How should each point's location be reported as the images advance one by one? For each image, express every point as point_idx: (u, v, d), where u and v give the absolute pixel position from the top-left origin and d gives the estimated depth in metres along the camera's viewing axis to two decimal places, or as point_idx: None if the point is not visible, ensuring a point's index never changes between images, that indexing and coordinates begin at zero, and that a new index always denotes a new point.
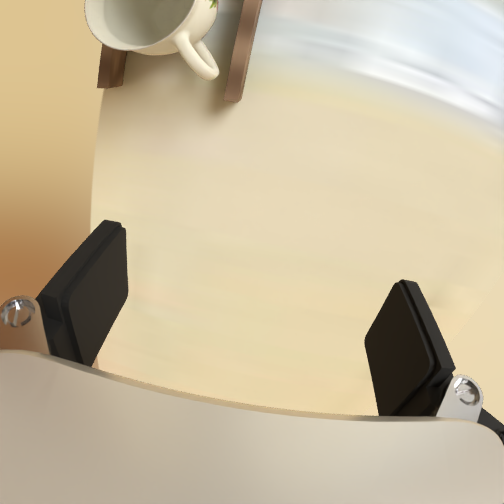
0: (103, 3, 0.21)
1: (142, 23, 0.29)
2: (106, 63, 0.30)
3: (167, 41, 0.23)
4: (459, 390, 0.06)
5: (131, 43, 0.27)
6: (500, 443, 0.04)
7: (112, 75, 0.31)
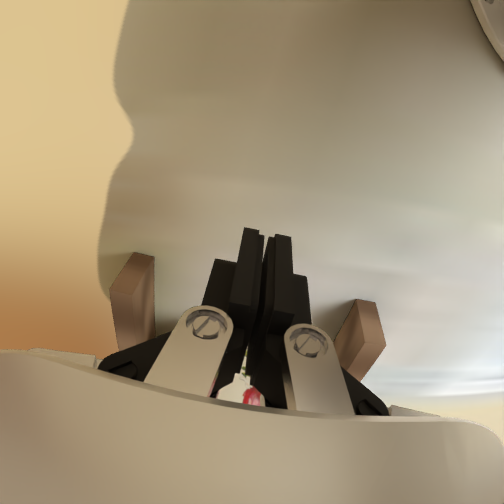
0: None
1: None
2: None
3: None
4: (299, 345, 0.07)
5: None
6: (500, 443, 0.04)
7: None
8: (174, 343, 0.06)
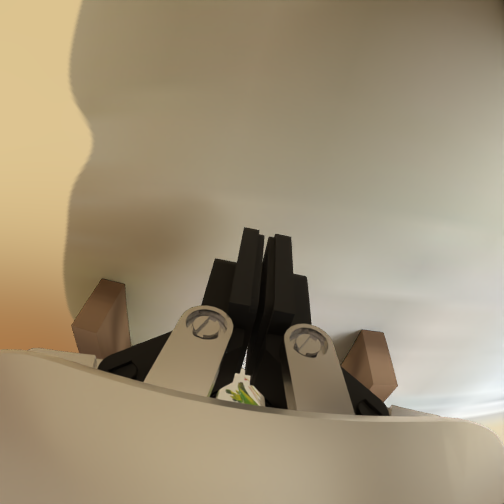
0: None
1: None
2: None
3: None
4: (299, 345, 0.07)
5: None
6: (500, 443, 0.04)
7: None
8: (174, 343, 0.06)
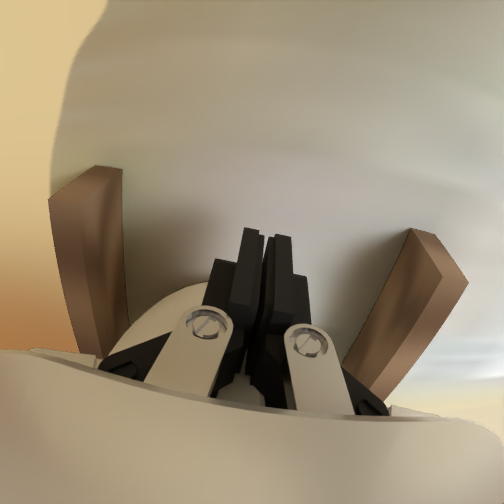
0: None
1: None
2: None
3: None
4: (299, 345, 0.07)
5: None
6: (500, 443, 0.04)
7: None
8: (174, 343, 0.06)
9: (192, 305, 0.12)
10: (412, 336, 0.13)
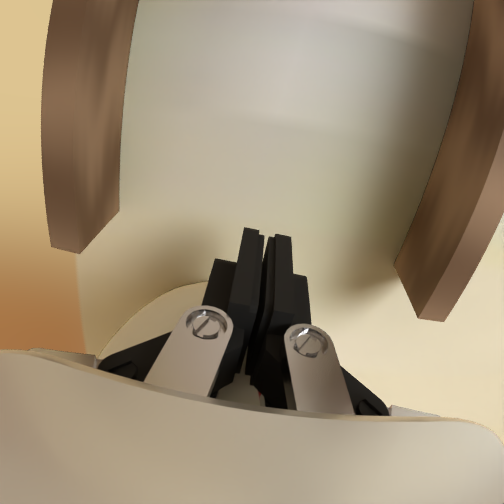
0: None
1: None
2: (61, 180, 0.10)
3: None
4: (299, 345, 0.07)
5: None
6: (500, 443, 0.04)
7: (88, 208, 0.12)
8: (174, 343, 0.06)
9: (191, 305, 0.12)
10: None
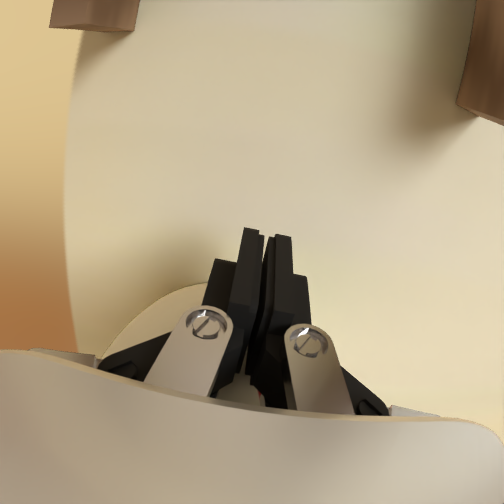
0: None
1: None
2: None
3: None
4: (299, 345, 0.07)
5: None
6: (500, 443, 0.04)
7: None
8: (174, 343, 0.06)
9: (191, 307, 0.12)
10: None
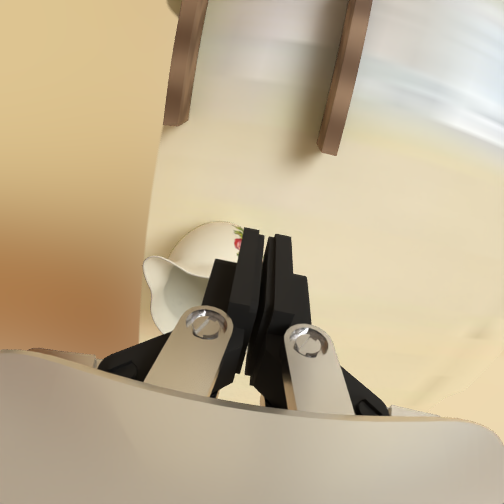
0: (163, 293, 0.31)
1: None
2: (175, 95, 0.28)
3: None
4: (299, 345, 0.07)
5: (185, 294, 0.38)
6: (500, 443, 0.04)
7: (182, 110, 0.29)
8: (174, 343, 0.06)
9: (211, 224, 0.34)
10: (357, 11, 0.22)
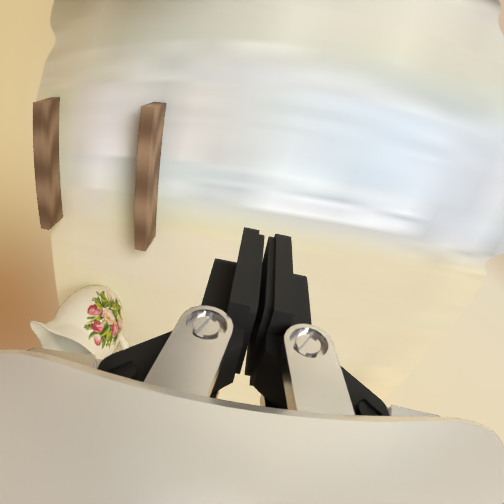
0: (52, 337, 0.41)
1: None
2: (43, 210, 0.38)
3: None
4: (299, 345, 0.07)
5: None
6: (500, 443, 0.04)
7: (51, 217, 0.39)
8: (174, 343, 0.06)
9: (82, 291, 0.45)
10: (141, 135, 0.32)
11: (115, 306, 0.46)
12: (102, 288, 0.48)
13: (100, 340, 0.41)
